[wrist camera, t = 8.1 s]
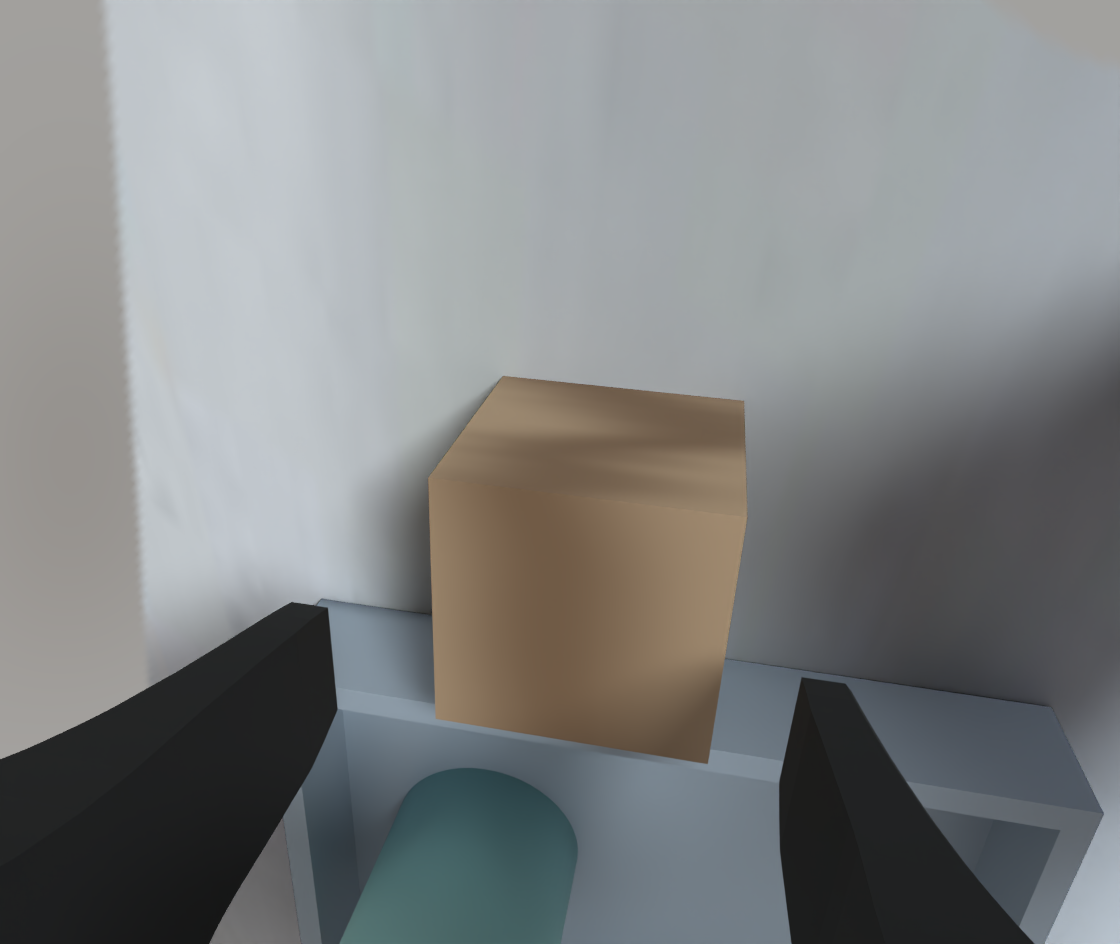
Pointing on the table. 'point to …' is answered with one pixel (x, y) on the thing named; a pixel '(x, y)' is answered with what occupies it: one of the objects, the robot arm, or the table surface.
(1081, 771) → the tote
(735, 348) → the table surface
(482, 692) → the cube
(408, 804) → the teal cylinder
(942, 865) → the robot arm
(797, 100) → the table surface
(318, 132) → the table surface
